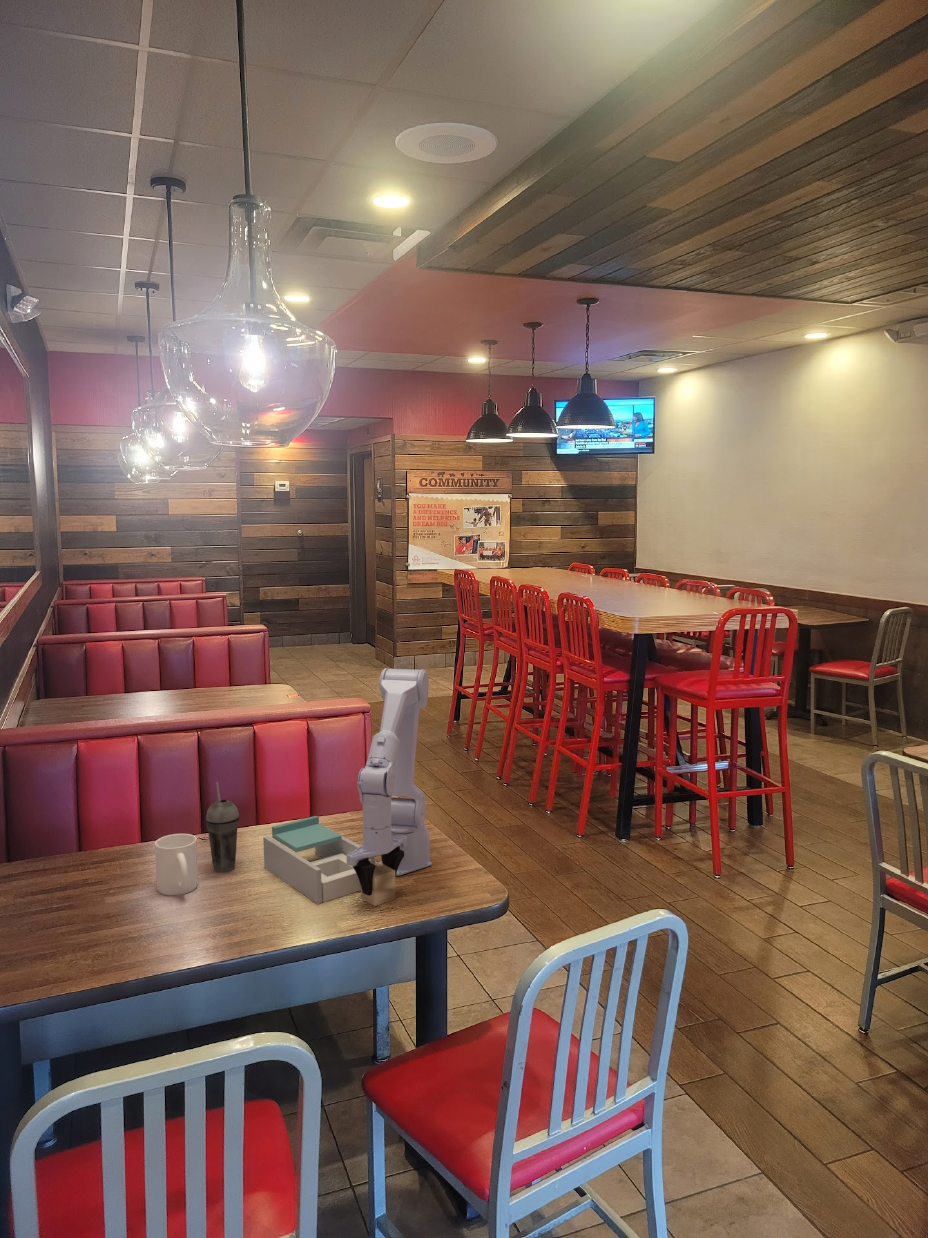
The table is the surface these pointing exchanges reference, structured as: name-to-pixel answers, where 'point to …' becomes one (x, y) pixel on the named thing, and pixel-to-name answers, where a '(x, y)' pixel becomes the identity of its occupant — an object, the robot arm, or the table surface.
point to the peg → (381, 885)
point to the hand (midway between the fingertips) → (378, 889)
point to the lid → (304, 834)
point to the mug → (176, 864)
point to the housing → (315, 869)
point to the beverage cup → (222, 833)
